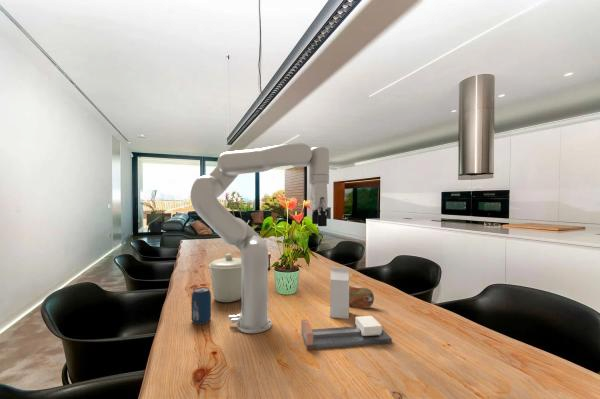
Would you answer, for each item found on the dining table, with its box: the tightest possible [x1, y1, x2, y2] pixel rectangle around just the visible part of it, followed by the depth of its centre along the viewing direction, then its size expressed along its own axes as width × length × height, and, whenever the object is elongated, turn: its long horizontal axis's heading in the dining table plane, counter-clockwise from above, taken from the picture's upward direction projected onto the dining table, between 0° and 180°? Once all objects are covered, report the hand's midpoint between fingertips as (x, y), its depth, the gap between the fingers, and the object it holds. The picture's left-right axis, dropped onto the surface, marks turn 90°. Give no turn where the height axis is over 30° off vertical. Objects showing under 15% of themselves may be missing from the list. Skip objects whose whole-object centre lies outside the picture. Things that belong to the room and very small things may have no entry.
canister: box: [208, 252, 242, 303], centre depth 130 cm, size 18×18×21 cm
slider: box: [354, 315, 383, 336], centre depth 94 cm, size 6×8×4 cm
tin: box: [349, 285, 375, 309], centre depth 122 cm, size 15×3×8 cm, turn 68°
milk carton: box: [329, 266, 350, 320], centre depth 112 cm, size 7×7×19 cm
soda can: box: [191, 286, 212, 325], centre depth 106 cm, size 7×7×12 cm
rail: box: [301, 319, 393, 351], centre depth 93 cm, size 28×10×5 cm, turn 99°
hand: (319, 225), depth 106 cm, fingers open, 9 cm apart
